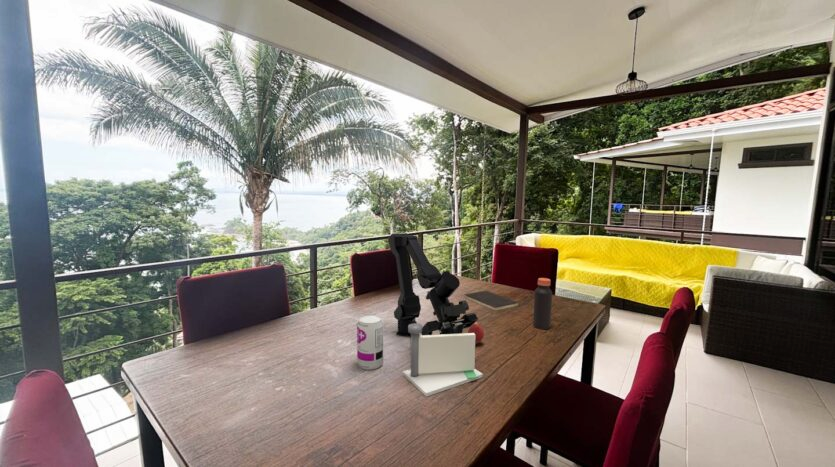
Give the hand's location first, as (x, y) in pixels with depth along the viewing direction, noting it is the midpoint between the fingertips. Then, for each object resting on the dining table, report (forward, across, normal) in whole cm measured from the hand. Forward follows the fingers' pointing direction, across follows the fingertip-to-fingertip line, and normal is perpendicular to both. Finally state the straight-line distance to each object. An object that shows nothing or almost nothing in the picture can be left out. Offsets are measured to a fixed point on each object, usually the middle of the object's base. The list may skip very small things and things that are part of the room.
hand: (461, 350), depth 104 cm
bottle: (-4, +52, +14) cm, 54 cm away
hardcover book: (-29, +56, +40) cm, 75 cm away
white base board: (+4, -5, +6) cm, 9 cm away
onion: (-5, +18, +15) cm, 24 cm away
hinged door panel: (+3, -6, +5) cm, 9 cm away
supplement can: (-8, -22, +18) cm, 29 cm away
